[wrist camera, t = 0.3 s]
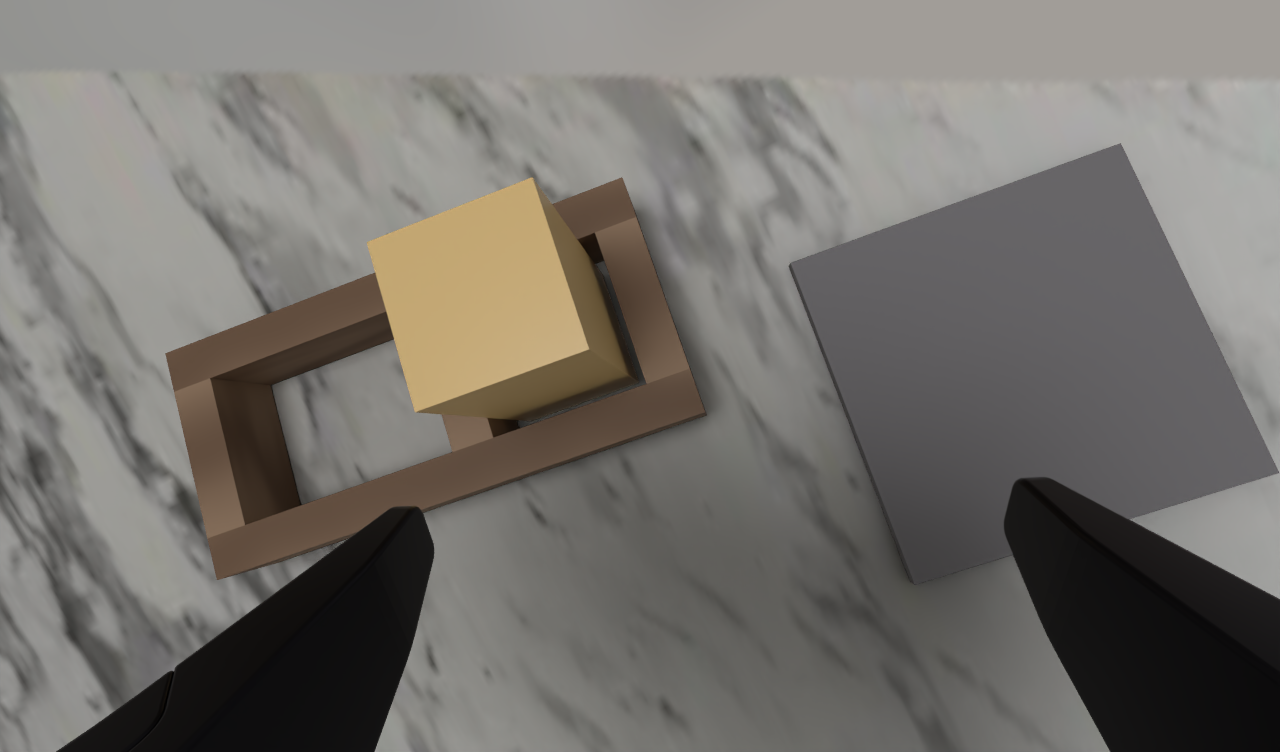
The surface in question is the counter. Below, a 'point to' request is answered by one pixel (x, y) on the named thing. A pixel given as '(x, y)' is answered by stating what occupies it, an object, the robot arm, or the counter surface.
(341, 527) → the brown divided frame
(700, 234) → the counter surface
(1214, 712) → the robot arm
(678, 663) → the counter surface
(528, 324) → the ochre plug
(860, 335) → the charcoal mat
